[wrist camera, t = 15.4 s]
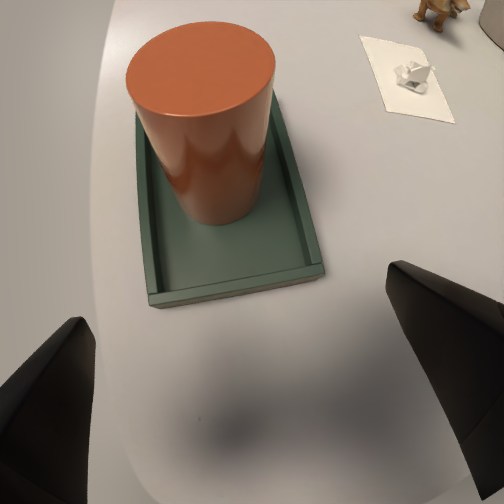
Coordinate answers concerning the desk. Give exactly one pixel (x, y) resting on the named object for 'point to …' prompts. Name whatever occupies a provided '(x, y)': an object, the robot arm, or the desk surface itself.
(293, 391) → the desk surface
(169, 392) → the desk surface
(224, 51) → the orange cylinder
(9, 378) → the robot arm
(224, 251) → the tray
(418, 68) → the adhesive hook
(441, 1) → the lion figurine
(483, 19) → the potted plant
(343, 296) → the desk surface
